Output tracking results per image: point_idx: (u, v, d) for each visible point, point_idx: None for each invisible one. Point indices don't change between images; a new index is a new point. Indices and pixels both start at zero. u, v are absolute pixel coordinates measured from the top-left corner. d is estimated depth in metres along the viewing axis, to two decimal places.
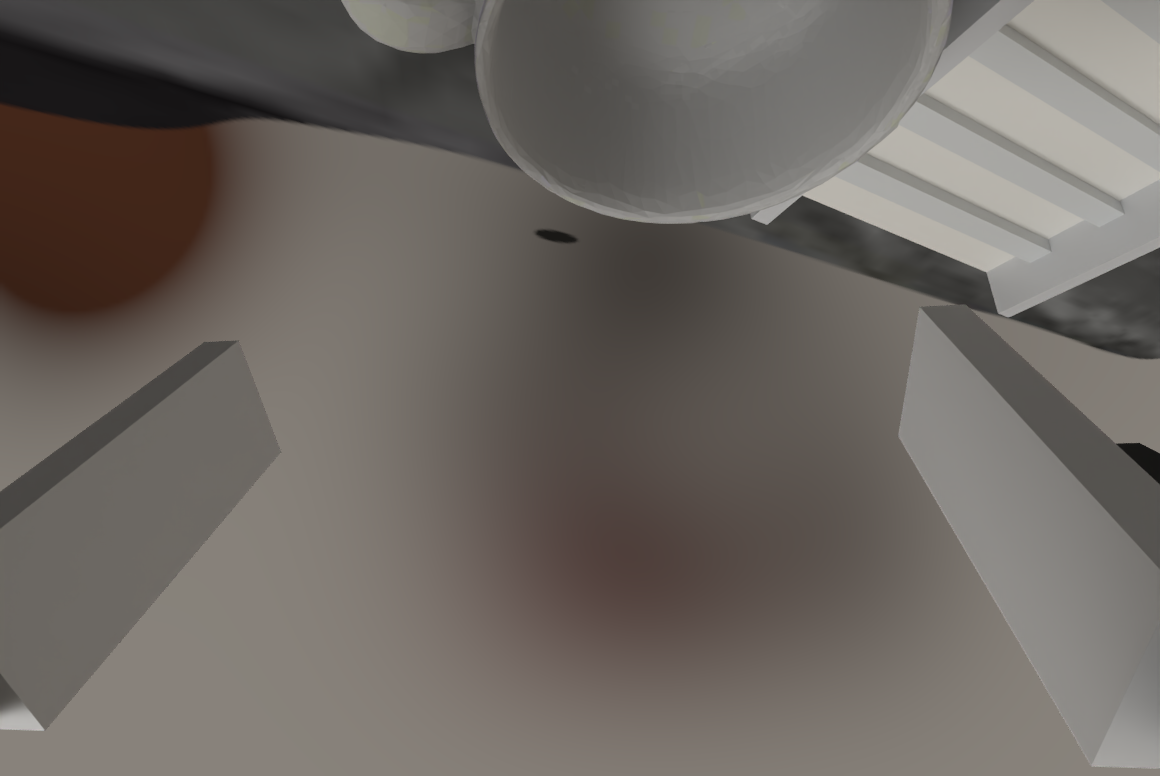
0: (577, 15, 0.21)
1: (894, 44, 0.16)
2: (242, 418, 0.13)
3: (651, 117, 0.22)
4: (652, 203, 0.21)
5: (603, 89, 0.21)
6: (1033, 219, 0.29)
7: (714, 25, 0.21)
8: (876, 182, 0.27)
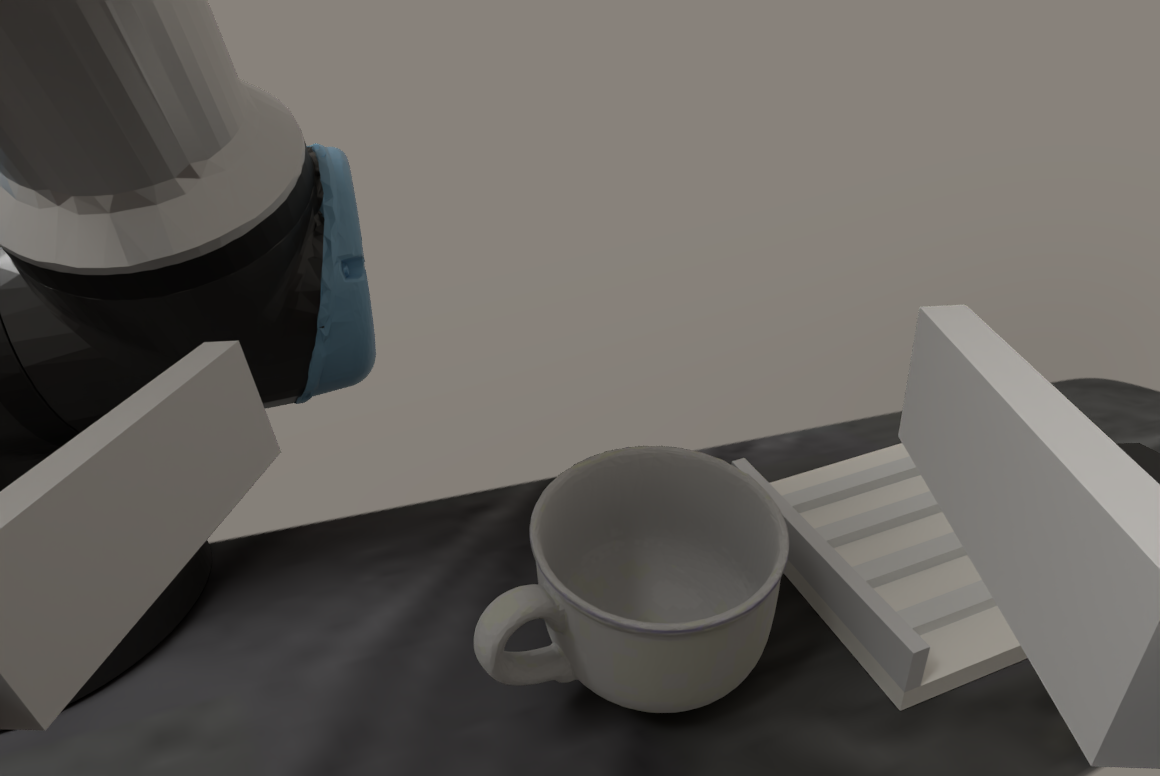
0: None
1: (720, 492, 0.31)
2: (242, 418, 0.13)
3: None
4: None
5: None
6: None
7: None
8: (948, 603, 0.30)
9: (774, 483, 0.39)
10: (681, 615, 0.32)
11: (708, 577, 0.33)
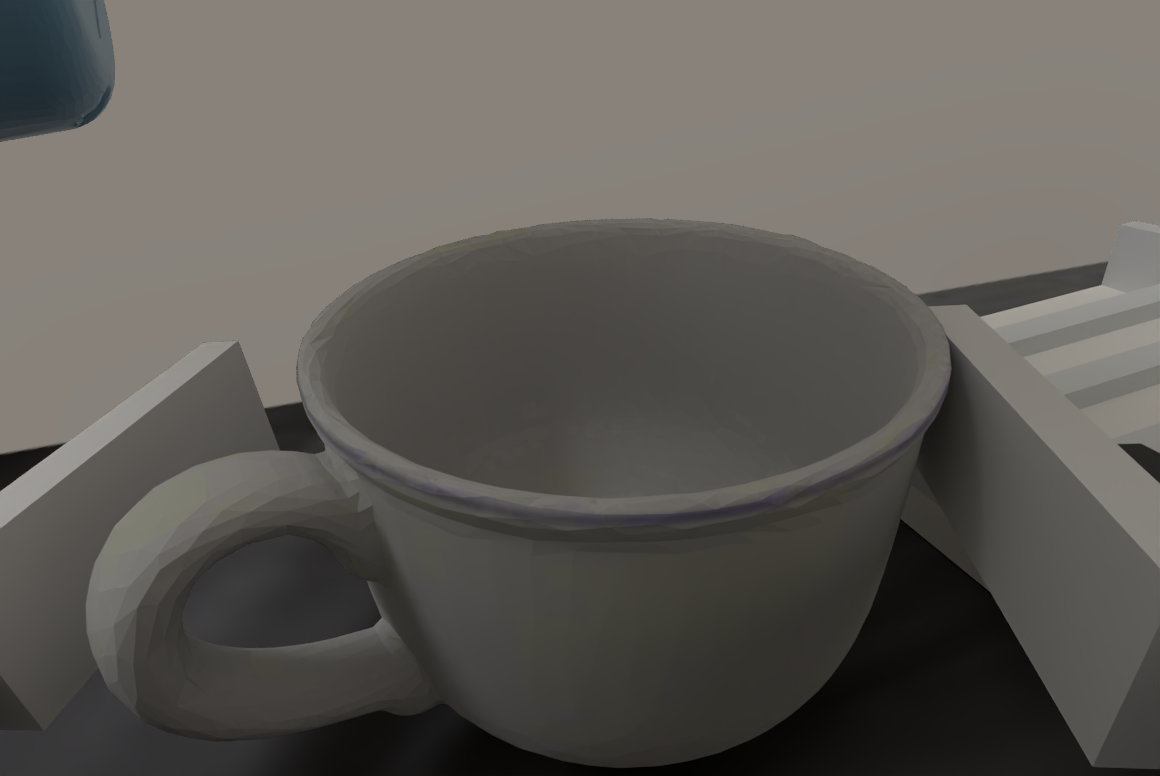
0: None
1: (731, 293, 0.16)
2: (242, 418, 0.13)
3: None
4: None
5: None
6: None
7: None
8: None
9: None
10: None
11: (714, 477, 0.17)
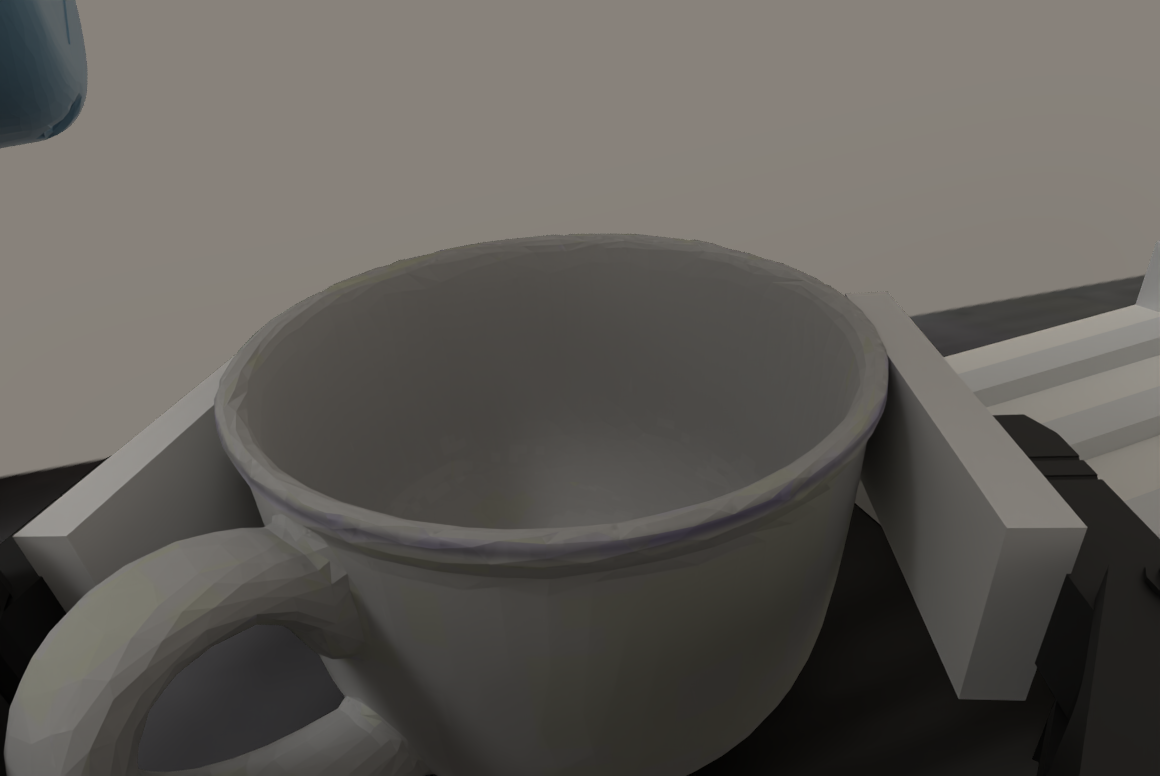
0: None
1: (642, 301, 0.16)
2: None
3: None
4: None
5: None
6: None
7: None
8: None
9: None
10: None
11: (644, 483, 0.17)
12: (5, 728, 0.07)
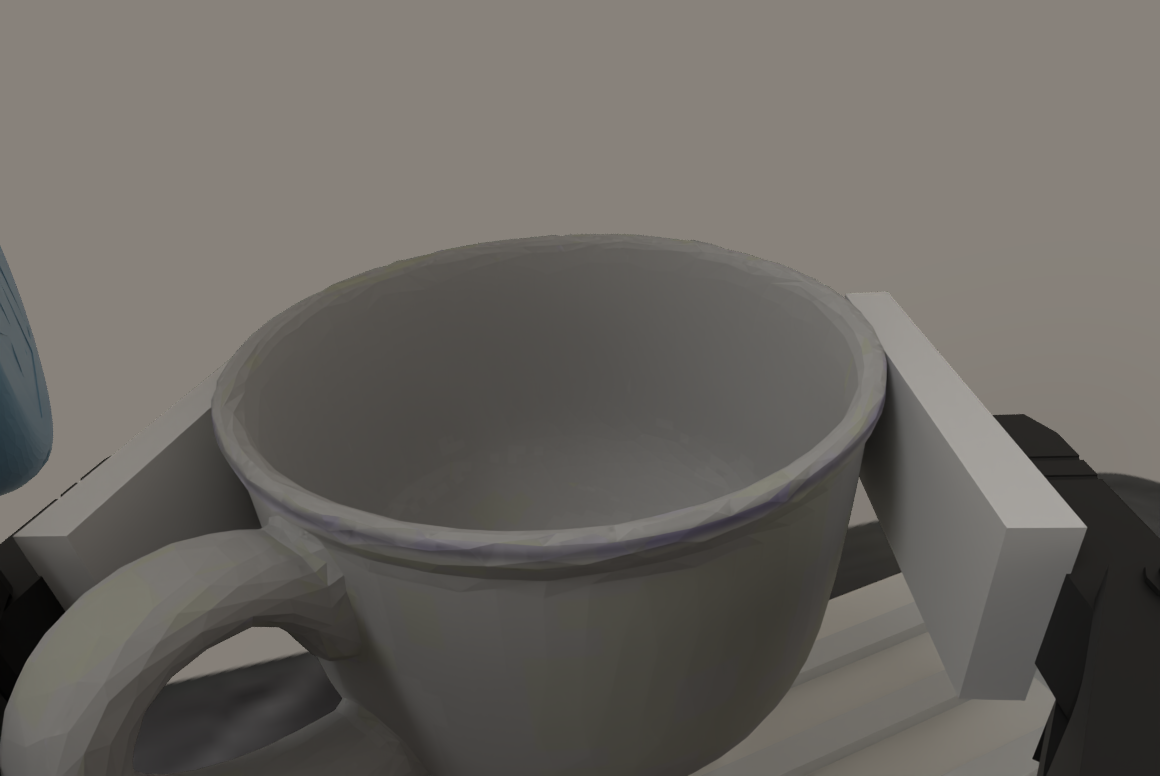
0: None
1: (641, 301, 0.16)
2: None
3: None
4: None
5: None
6: None
7: None
8: None
9: None
10: None
11: (643, 484, 0.17)
12: None
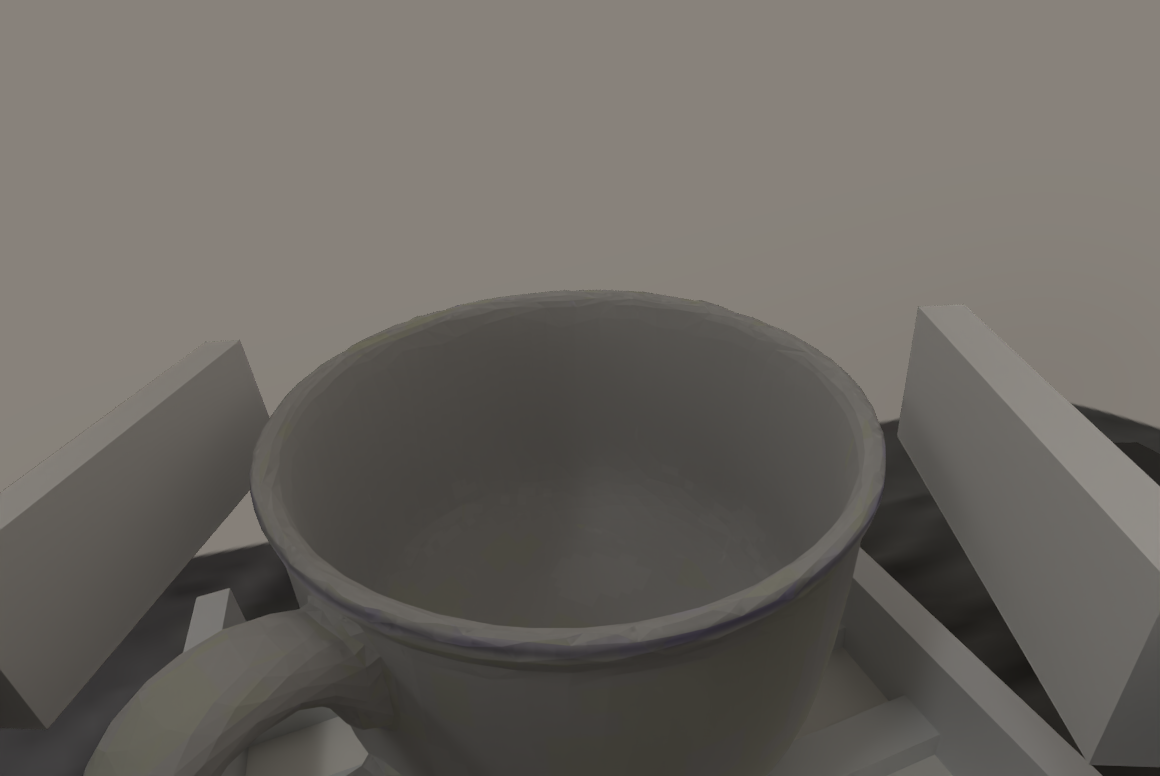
0: None
1: (649, 355, 0.17)
2: (243, 418, 0.13)
3: None
4: (847, 503, 0.10)
5: None
6: None
7: None
8: None
9: None
10: (623, 607, 0.16)
11: (648, 528, 0.18)
12: None
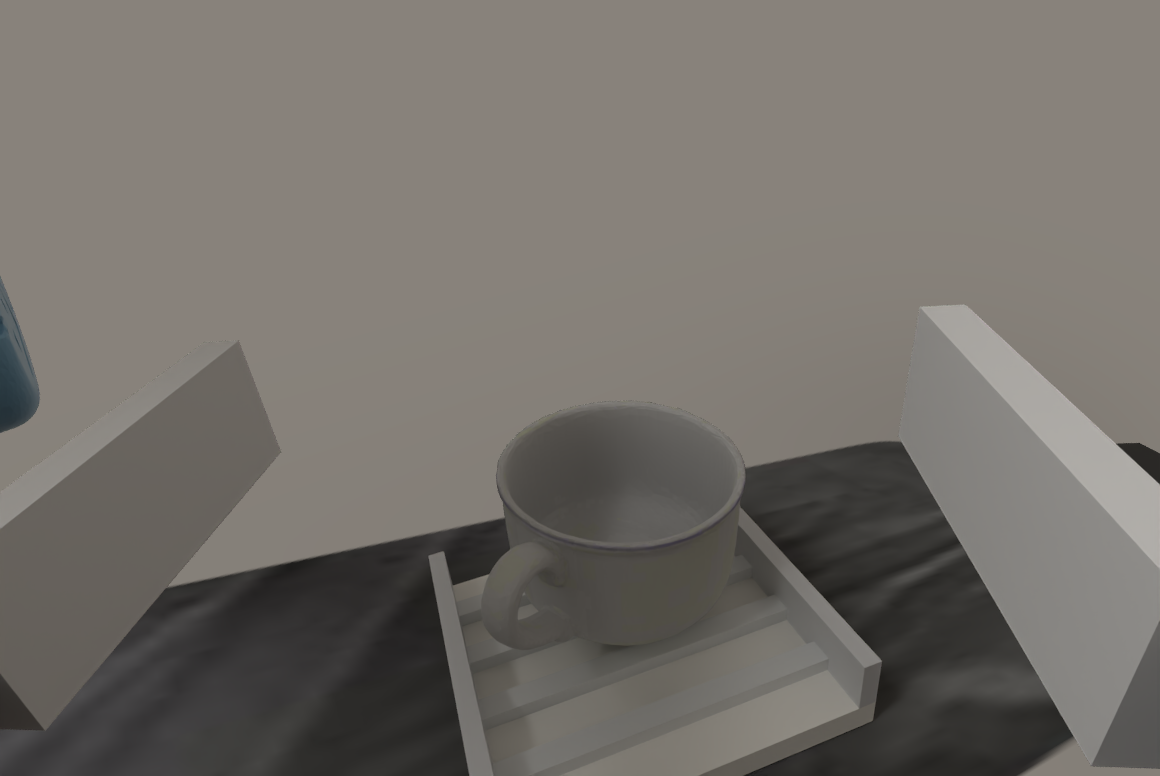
0: None
1: (654, 433, 0.34)
2: (242, 418, 0.13)
3: None
4: None
5: None
6: (766, 657, 0.29)
7: None
8: (586, 740, 0.26)
9: None
10: None
11: (654, 519, 0.35)
12: None
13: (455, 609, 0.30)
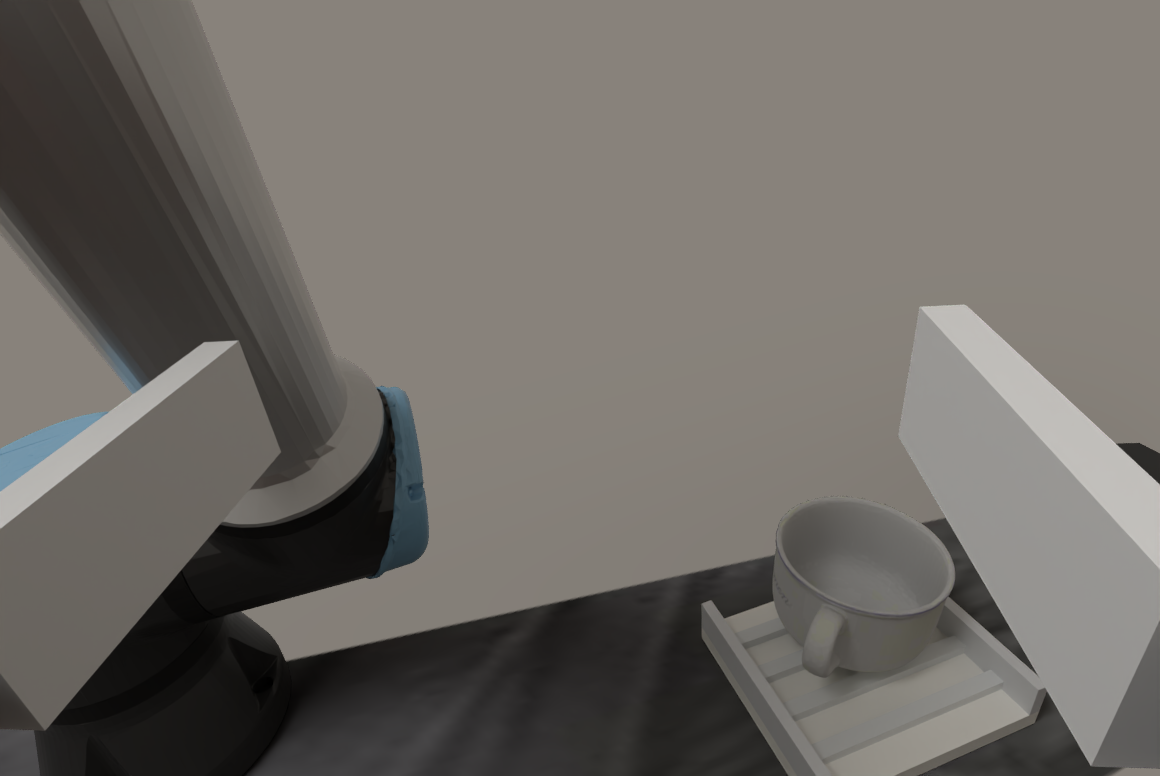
0: None
1: (863, 519, 0.48)
2: (242, 418, 0.13)
3: None
4: (945, 581, 0.41)
5: None
6: (957, 679, 0.43)
7: None
8: (857, 734, 0.40)
9: (736, 616, 0.50)
10: None
11: (856, 577, 0.49)
12: None
13: (741, 644, 0.45)
